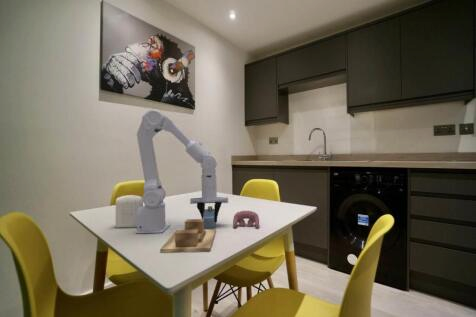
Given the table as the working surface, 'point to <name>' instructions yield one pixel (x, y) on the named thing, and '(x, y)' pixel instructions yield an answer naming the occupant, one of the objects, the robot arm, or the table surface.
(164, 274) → the table surface
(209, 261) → the table surface
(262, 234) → the table surface
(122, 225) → the photo printer
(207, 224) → the servo
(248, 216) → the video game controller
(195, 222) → the bread on cutting board
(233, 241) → the table surface
